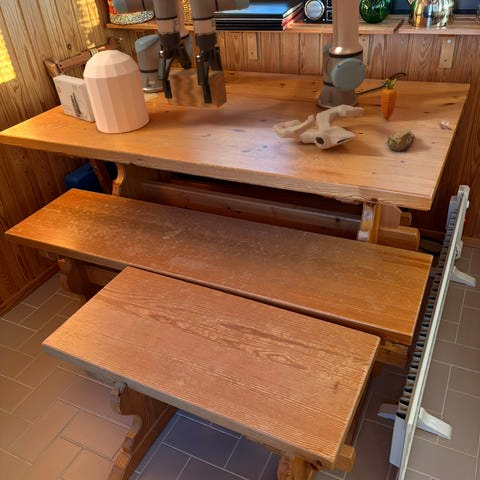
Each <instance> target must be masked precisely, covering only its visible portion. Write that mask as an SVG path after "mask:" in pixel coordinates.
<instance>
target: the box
mask: <svg viewBox="0 0 480 480" xmlns="http://www.w3.org/2000/svg"><path fill="white" fill-rule="evenodd" d="M225 79H226V77H225V71H224V70H223V71H212V70H209V77H208V85H210V91H211V99H212V103H211V104H208V103H204V96H203V89H202V86H201V85H198V80H197V69H189V70H184V68H172V69H170V72H169V77H168V80H170V86H171V92H172V99H169V98H166V99H167V104H168V105H170V106H180V107H181V106H183V107H195V108H207V109H220V108H221V107H222V106H223V105H225V104H226V103H228V97H227V89H226V87H227V86H226V80H225Z"/></svg>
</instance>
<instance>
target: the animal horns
mask: <svg viewBox="0 0 480 480" xmlns="http://www.w3.org/2000/svg"><path fill="white" fill-rule="evenodd" d="M364 110H365V109H363V107H358V106H355V107H352V106H348V105H341V106H338V107H334V108H332V109H329V110H326V109H325V110H324V111H323V110H322V111H321V112H318V113H317V114H316V117H315V116H314V114H311V115H308V116H307V119H306V120H305V121H304V122H301V121H300V120H298V119H293V120H289V121H285V122H280V123H275V124H274V125H273V131H274V133H275V134H276V135H277V136H278V137H279V138H281V139H292V140H293V139H294V140H299V141H300V142H301V143H303V144H309V143H312V144H315V146H316V147H317V148H319V149H321V150H328V149H331V148H334V147H337V146H340V145H342V144H345V143H348V142H351V141H353V140H355V138H356V135H355V133H354V132H352V131H349V130H346V129H345V128H344V127H342V126H340V125H334V126H332V125H333V123H334V121H335V120H336V119H337V118H349V117H353V118H357V119H360V118H361V117H362V116H363V114H364ZM315 121H316V122H315ZM315 125H317V127H318V129H315V128H313V127H314V126H315Z"/></svg>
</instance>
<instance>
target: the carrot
mask: <svg viewBox="0 0 480 480" xmlns="http://www.w3.org/2000/svg"><path fill="white" fill-rule="evenodd" d="M397 81H398V78H395V79H394V80H393V82H391V78H390V79H388V78H385V83H387V84H386V86H385V87H386V88H384V89H382V91H381V100H380V101H381V102H380V104H381V112H382V113H381V114H382V117H383V119H384V120H385V121H386V122H388V121H389V119H390V118H391V117H392V114H393V112H394V109H395V106H396V101H397V96H398V95H397V94H398V91H397V89H395V88H394V86H395V85H396V83H397Z"/></svg>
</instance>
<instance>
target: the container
mask: <svg viewBox="0 0 480 480" xmlns="http://www.w3.org/2000/svg"><path fill="white" fill-rule="evenodd" d="M82 75H83V79H84V80H85V84H86V87H87V91H88V95H89V98H90V102H91V106H92V110H93V113H94V117H95V121H94V122H95V124H96V128H97V130H98V131H100V132H101V133H106V134H122V133H123V134H124V133H128V132H132V131H136V130H139V129H141V128H142V127H144V126H147V124H148V123H149V122H150V116H149V112H148V108H147V102H146V97H145V92H143V87H142V82H141V77H140V69H139V64H138V62H136V61H135V60H134V58H132V56H130V55H128V54H126V53H124V52H123V51H120V50H117V49H107V50H103V51H98V52H97V53H95V54H93V55H92V57H90V59H88V60H87V62H86V65H85V67H84V70H83V74H82Z"/></svg>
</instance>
